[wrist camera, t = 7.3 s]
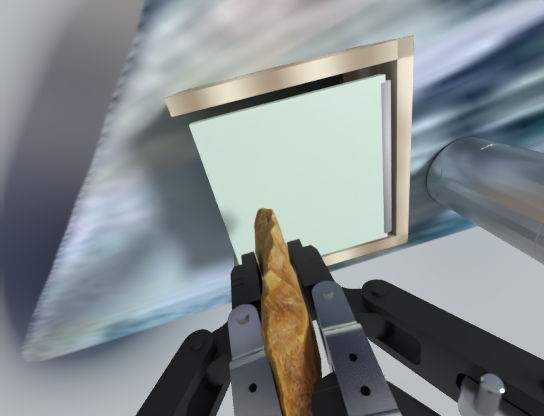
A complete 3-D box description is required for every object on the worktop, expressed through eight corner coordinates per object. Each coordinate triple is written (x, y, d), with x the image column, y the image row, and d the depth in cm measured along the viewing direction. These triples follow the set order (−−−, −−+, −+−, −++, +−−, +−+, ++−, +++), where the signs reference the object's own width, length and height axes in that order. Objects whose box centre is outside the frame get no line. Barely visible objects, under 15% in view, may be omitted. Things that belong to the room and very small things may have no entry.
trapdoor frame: (351, 47, 27) (414, 35, 18) (361, 200, 35) (407, 242, 27) (184, 90, 26) (164, 98, 17) (234, 235, 35) (238, 291, 26)
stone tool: (291, 246, 20) (394, 619, 6) (260, 254, 20) (299, 639, 6) (274, 184, 17) (382, 577, 4) (239, 194, 17) (230, 611, 4)
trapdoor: (384, 72, 20) (394, 72, 18) (387, 228, 26) (394, 235, 25) (190, 122, 19) (188, 125, 18) (243, 269, 25) (243, 278, 24)
